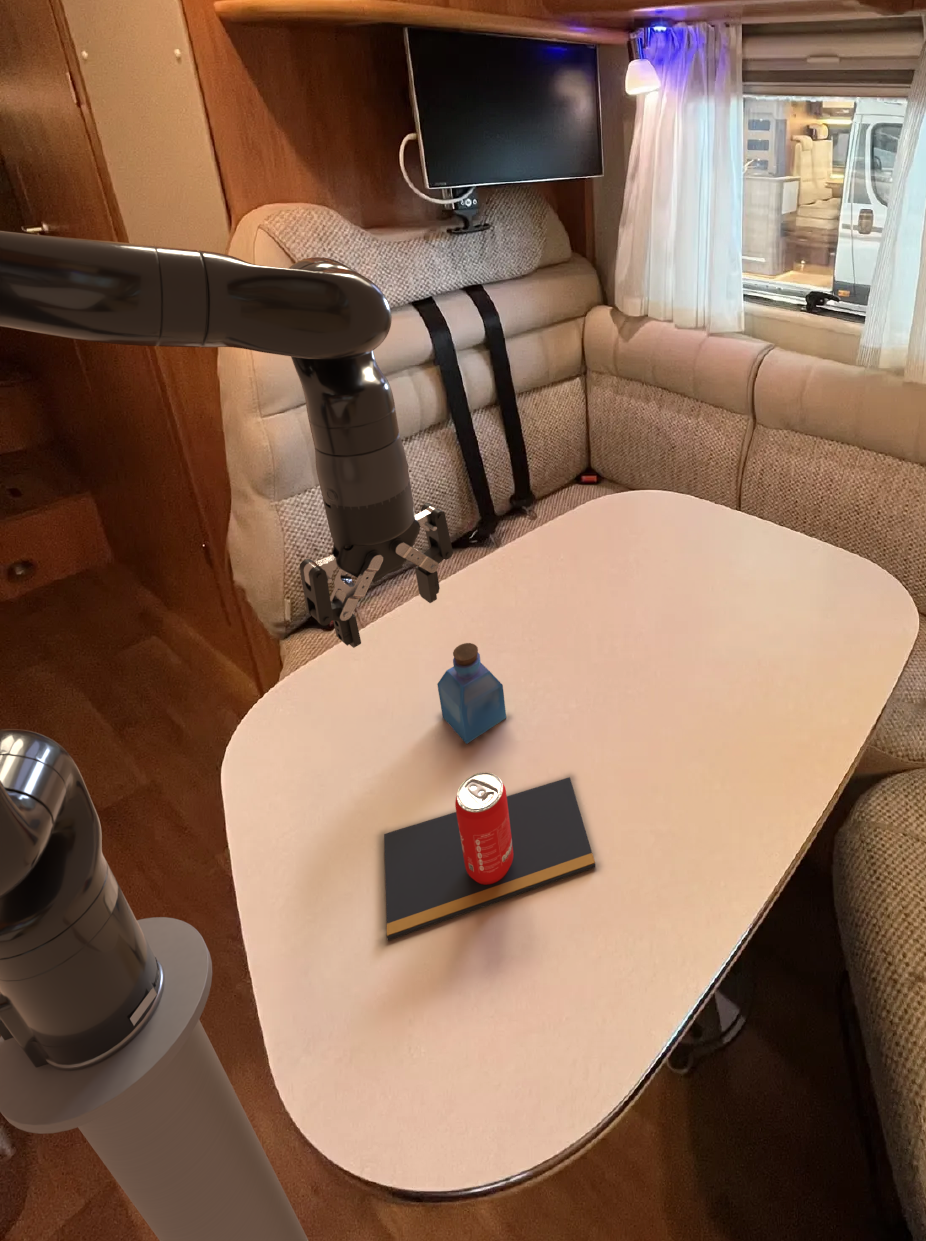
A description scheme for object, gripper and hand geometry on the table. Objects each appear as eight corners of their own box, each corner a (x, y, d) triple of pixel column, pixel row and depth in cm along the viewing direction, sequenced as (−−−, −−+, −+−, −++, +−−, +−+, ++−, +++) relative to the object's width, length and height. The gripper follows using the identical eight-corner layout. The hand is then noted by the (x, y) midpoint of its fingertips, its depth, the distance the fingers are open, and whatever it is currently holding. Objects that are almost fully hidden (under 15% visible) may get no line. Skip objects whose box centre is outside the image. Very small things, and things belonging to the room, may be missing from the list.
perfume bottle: (442, 717, 100) (431, 651, 94) (481, 693, 104) (473, 628, 98) (466, 744, 96) (456, 676, 91) (506, 718, 100) (499, 652, 95)
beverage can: (490, 897, 78) (479, 822, 73) (456, 872, 80) (443, 798, 75) (523, 858, 82) (515, 784, 77) (490, 835, 84) (480, 762, 79)
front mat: (387, 940, 74) (386, 937, 74) (384, 836, 84) (383, 833, 84) (595, 867, 82) (595, 863, 81) (570, 779, 92) (569, 776, 91)
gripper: (410, 442, 73) (430, 571, 81) (266, 498, 63) (304, 640, 70) (456, 466, 69) (472, 600, 76) (309, 530, 59) (344, 678, 66)
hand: (391, 619), depth 73 cm, fingers open, 8 cm apart
